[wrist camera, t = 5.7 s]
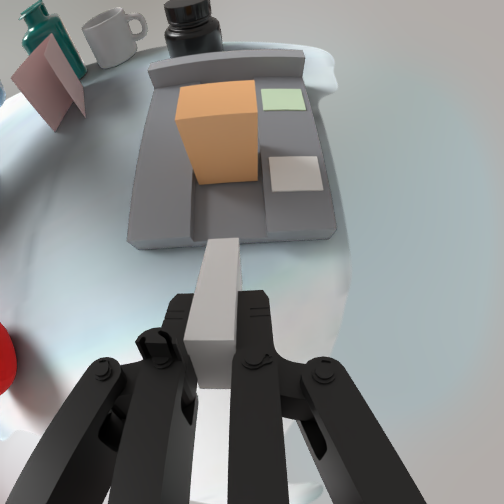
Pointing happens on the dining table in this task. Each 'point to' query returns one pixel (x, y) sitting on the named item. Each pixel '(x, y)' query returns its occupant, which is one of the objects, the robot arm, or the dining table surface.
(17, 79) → the greeting card
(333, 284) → the dining table surface
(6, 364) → the tomato
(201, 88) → the lever
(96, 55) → the mug
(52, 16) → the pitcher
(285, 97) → the breaker housing
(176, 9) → the ink bottle
